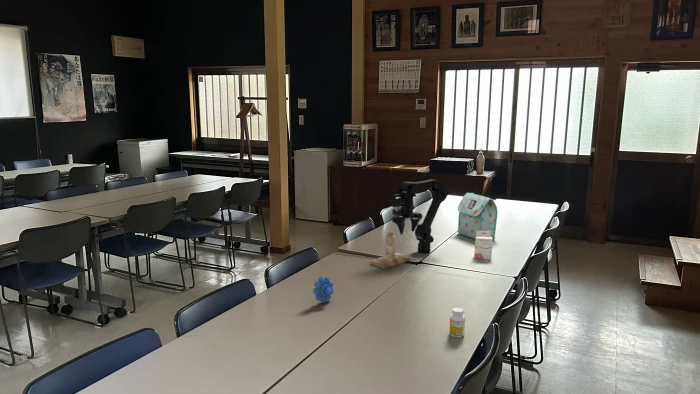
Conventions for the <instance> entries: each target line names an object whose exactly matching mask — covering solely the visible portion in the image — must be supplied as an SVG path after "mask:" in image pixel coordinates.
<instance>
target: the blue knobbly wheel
mask: <svg viewBox="0 0 700 394" xmlns="http://www.w3.org/2000/svg"><path fill="white" fill-rule="evenodd" d="M333 287H334V282H333V281H332V280H330V277H328V276H319V277H318V280H316V281H315V282H314V288H313V290H312V294H313V295H315V300H316V301H318V302H319V301H320V303H322V304H325V303H326V302H327V301H330V300H331V299H332V296H331V295H333V294H334V293H335V290H334V288H333Z"/></svg>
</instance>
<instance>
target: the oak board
mask: <svg viewBox="0 0 700 394" xmlns="http://www.w3.org/2000/svg"><path fill="white" fill-rule="evenodd" d="M395 255H398V259H396V260H392V261H390V260H387V259H384V258H383V256H380V257H377V258H373V259H371V260H370V265H372V266H375V267H378V268H381V269H388V268H390V267H393V266H397V265H400V264H403V263H406V262H409V260H410V261H411V256H409V255H406V254H403V253H402V254H401V253H398V252H395Z"/></svg>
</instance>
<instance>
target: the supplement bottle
mask: <svg viewBox="0 0 700 394" xmlns="http://www.w3.org/2000/svg"><path fill="white" fill-rule="evenodd" d="M451 311H452V313H451V314H450V315H449V335H450V337H452V338H463V337H464V336H465V327H466V325H465V323H466V316H465V315H464V308H461V307H453V308H452V310H451ZM462 336H463V337H462Z"/></svg>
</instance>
